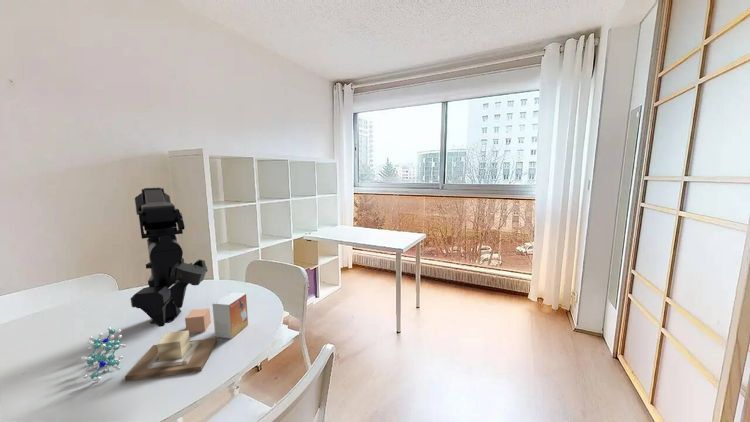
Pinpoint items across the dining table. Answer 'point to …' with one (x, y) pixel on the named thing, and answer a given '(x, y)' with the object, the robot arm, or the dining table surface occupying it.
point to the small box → (230, 315)
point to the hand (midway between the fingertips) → (171, 316)
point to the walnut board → (173, 361)
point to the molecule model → (99, 357)
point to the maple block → (174, 346)
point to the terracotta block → (198, 320)
